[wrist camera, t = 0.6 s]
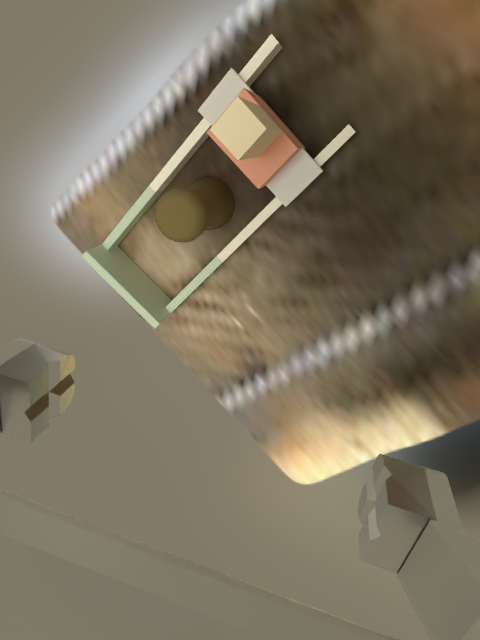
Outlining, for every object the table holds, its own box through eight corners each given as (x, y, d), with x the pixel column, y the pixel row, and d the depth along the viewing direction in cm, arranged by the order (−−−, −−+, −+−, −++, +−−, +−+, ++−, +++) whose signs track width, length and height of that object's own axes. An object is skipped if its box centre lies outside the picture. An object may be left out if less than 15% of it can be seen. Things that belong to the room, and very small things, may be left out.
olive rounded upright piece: (219, 166, 47) (185, 173, 37) (243, 215, 49) (216, 234, 39) (176, 190, 49) (134, 202, 40) (200, 237, 51) (165, 259, 41)
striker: (240, 73, 43) (187, 40, 29) (324, 169, 44) (313, 181, 30) (208, 112, 45) (145, 99, 31) (290, 202, 46) (265, 228, 32)
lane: (275, 39, 41) (264, 24, 36) (355, 132, 43) (356, 130, 37) (107, 245, 54) (81, 256, 49) (173, 310, 56) (154, 328, 50)
